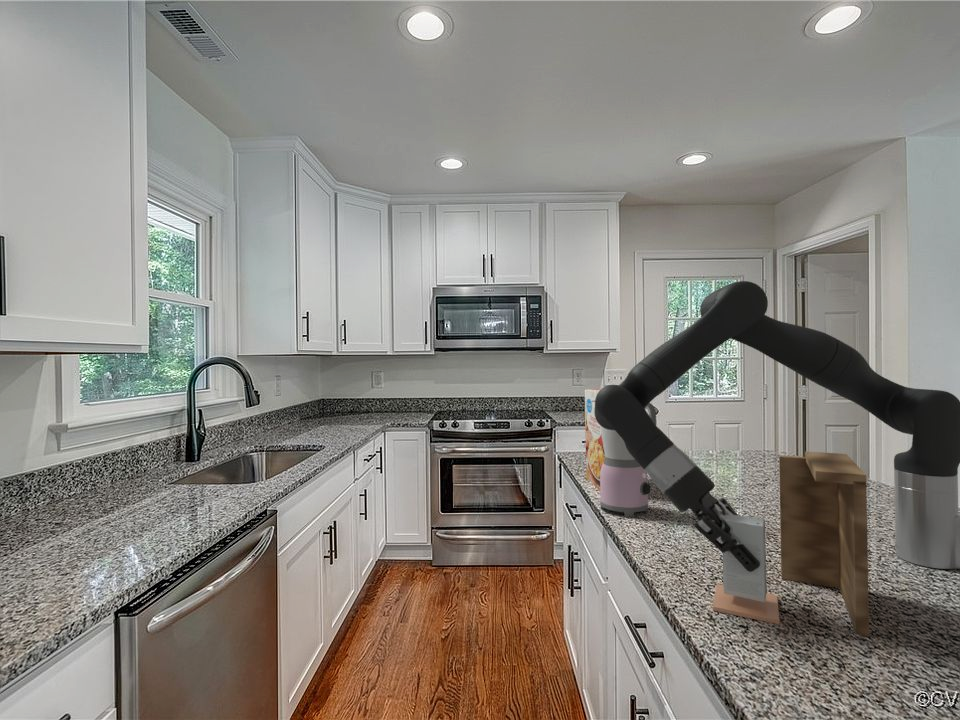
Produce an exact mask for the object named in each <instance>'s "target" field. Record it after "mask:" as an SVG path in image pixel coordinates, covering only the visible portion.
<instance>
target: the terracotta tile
mask: <svg viewBox="0 0 960 720" xmlns="http://www.w3.org/2000/svg"><path fill="white" fill-rule="evenodd" d="M714 592H715V593H714V598H713V605H712V611H713V612H719V613H722V614H723V613H724V614H728V615H732V616H733V615H734V616H738V617H742V618H748V619H753V620H758V621H761V622H762V621H763V622H767V623H770V624H771V623H772V624H776V625H780V612H779V603H778V602H779V601H778V595H777V594H772V593H769V592H767V593H766V600H765V602H762V601H757V600H752V599H748V598H743V597H738V596H733V595H729V594H724V590H723V584H719V583H717V584H716V587H715V591H714Z"/></svg>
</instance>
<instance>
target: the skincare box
mask: <svg viewBox="0 0 960 720" xmlns="http://www.w3.org/2000/svg"><path fill="white" fill-rule="evenodd" d="M725 517H726V521H727V522H728V523H729V525H730V526H731V527H732V528H733V530H732V532H733V533H734V534H735V535H736V536H737V538H738V539H739V540H740V541H741V543H742V544H743V545H744V546H745V547H746V548H747V549H748V550H749V551H750V552H751V553H752V554H753V556H754V557H755V558H756V559H757V560H758V561H759V562H760V566H759V567H758V568H757V569H755V570H754V571H752V572H749V571H747V570H746V569H745V568H744V566H743V565H742V564H741V563H740V562H739V561H738V560H737V559H736V558H735V557H734V555H733V554H732V553H731V552H730V553H728V552H727V551H726V552H725V553H723V552H722V582H723V583H722V585H723V590H724V594H729V595H733V596H738V597H743V598H748V599H752V600H757V601H762V602H765V600H766V593H768V592H767V591H768V584H767V583H768V582H767V576H768V575H767V553H766V551H767V550H766V549H767V548H766V547H767V546H766V520H765V518H758V517H751V516H742V515H739V514H738V515H725ZM724 528H725V526H724V524H723V523H722V530H723V529H724ZM723 539H724V538H723ZM724 541H726V540H725V539H724Z"/></svg>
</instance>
